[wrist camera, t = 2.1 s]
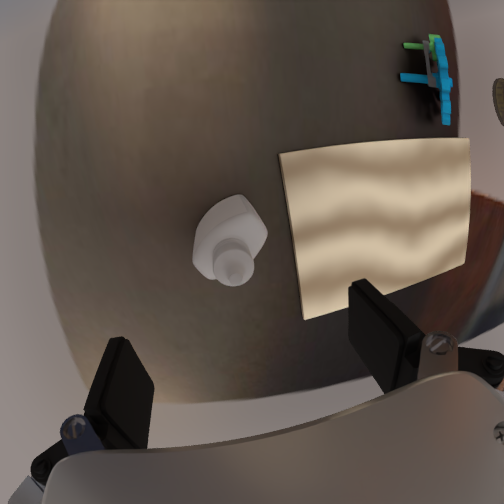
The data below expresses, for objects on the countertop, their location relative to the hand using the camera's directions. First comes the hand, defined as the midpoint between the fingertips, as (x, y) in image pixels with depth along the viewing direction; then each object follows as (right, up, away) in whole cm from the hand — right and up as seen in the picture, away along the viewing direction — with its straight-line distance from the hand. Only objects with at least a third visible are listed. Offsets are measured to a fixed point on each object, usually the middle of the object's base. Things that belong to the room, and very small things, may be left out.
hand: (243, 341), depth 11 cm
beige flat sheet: (+17, +7, +18) cm, 26 cm away
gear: (+20, +23, +12) cm, 33 cm away
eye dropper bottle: (-2, +7, +15) cm, 17 cm away
